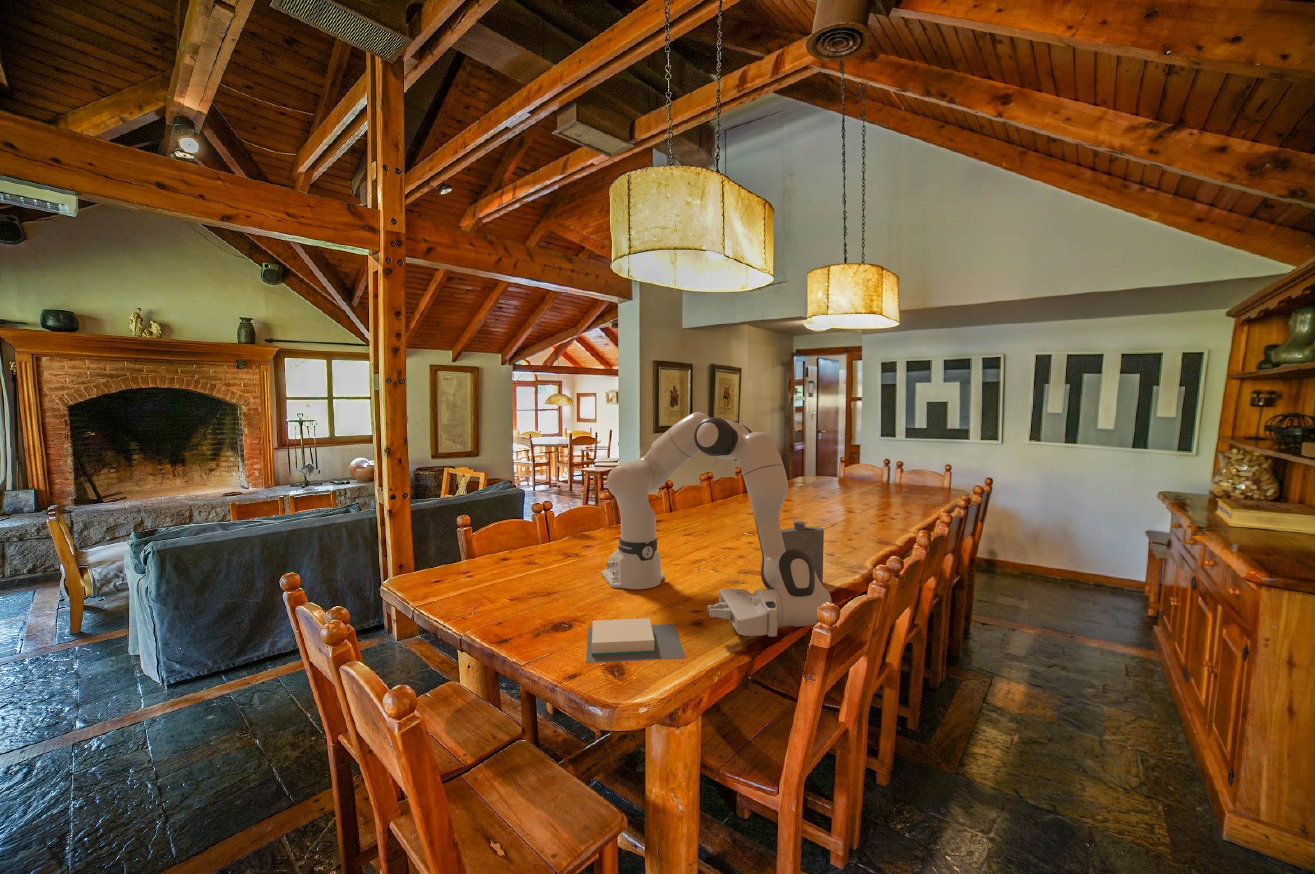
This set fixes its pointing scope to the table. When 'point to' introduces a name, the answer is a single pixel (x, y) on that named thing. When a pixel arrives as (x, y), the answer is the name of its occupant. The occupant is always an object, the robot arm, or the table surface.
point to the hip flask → (806, 543)
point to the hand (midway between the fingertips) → (708, 611)
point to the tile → (622, 637)
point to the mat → (664, 648)
